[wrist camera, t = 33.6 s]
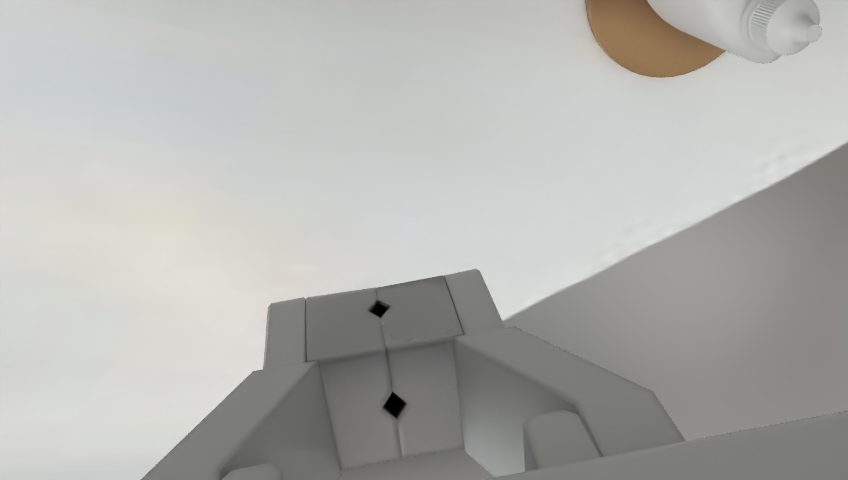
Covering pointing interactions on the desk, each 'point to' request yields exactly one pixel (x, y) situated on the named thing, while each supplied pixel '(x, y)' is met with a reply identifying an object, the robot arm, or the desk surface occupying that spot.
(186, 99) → the desk surface
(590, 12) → the coaster
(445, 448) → the robot arm
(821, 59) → the desk surface
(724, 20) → the eye dropper bottle
